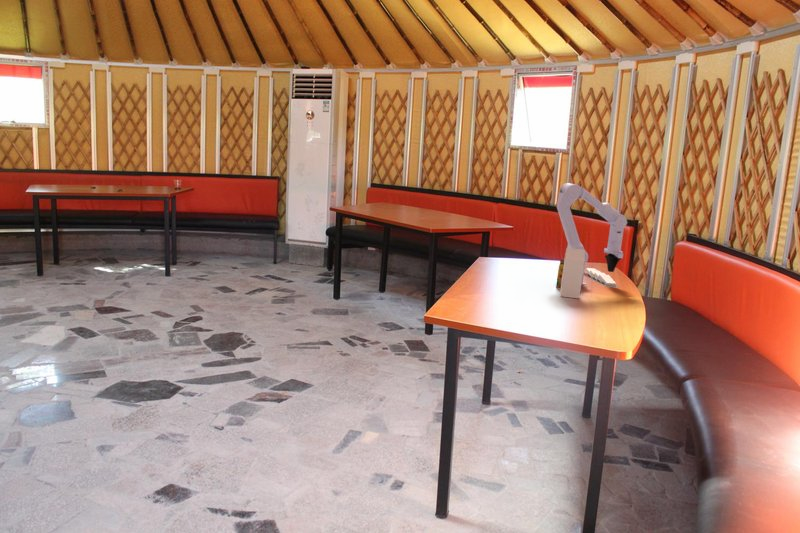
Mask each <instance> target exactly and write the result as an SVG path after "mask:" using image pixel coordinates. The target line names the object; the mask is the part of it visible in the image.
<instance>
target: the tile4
mask: <svg viewBox="0 0 800 533" xmlns="http://www.w3.org/2000/svg"><path fill="white" fill-rule="evenodd" d="M590 270H596V271H598V270H597V269H596V268H594V267H593V268H591V267H585V271H587V273H588V274H589V275H590V276H591V278H594V277H593V276H592V274H591V273H590Z"/></svg>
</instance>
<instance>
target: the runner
mask: <svg viewBox="0 0 800 533" xmlns="http://www.w3.org/2000/svg"><path fill="white" fill-rule="evenodd" d="M586 278H589V279H591V280H592V281H594V282H597V283H599V284H600V285H602V286H604V287H607V288H620V286H618V285H617V284H616V286H609V285H605V283H601V282H600V281H597V280H596V279H595V278H591V276H586Z"/></svg>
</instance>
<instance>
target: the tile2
mask: <svg viewBox="0 0 800 533" xmlns="http://www.w3.org/2000/svg"><path fill="white" fill-rule="evenodd" d="M600 272H601V271H600ZM600 272H595V274H594V275H595V276H596V277H597V278H598V280H599V281H600V282H601V283H604V282H603V281H602V280H601V279H600V278H599V274H602V275H607V274H606V273H605V272H601V273H600Z"/></svg>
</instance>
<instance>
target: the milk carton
mask: <svg viewBox="0 0 800 533" xmlns="http://www.w3.org/2000/svg"><path fill="white" fill-rule="evenodd" d="M585 251H586V250H585V249H584V250H581V249H571V248H567V247H566V248H565V253H564V259H563V260H564V266H563V274H562V282H561V288H560V291H559V294H560V297H565V298H573V299H580V297H581V296H580V295H581V290H582V288H581V287H582V285H581V282H582V275H583V268H584V258H585Z"/></svg>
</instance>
